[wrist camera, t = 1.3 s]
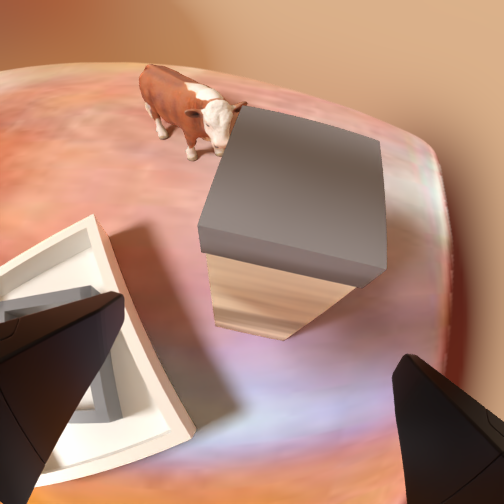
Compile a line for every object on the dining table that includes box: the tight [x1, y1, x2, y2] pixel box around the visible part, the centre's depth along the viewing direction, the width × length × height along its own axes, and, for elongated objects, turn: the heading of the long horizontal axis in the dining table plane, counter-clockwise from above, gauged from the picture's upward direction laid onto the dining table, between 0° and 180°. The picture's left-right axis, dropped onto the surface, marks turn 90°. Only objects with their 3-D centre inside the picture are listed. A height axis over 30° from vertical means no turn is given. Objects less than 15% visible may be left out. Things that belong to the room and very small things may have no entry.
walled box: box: [0, 214, 197, 487], centre depth 16 cm, size 16×14×4 cm
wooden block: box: [198, 105, 387, 341], centre depth 15 cm, size 5×5×14 cm
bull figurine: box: [139, 64, 247, 161], centre depth 23 cm, size 4×13×8 cm, turn 41°
